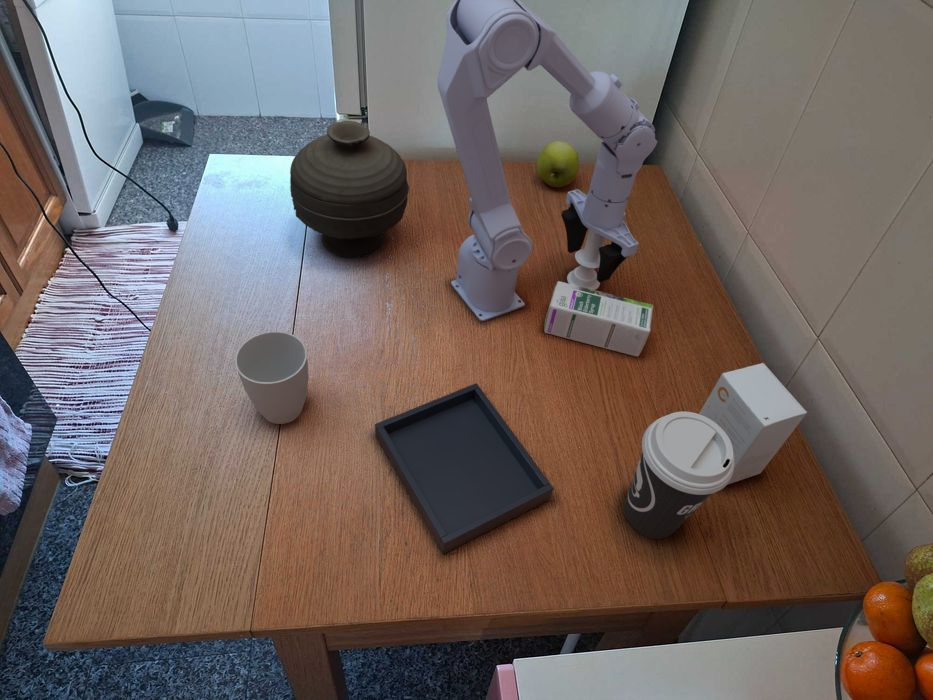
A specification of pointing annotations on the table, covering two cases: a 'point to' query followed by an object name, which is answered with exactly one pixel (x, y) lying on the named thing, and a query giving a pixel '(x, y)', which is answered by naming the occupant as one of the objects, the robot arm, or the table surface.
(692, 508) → the coffee cup
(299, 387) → the cup
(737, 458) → the small box
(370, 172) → the pot
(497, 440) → the tray
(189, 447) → the table surface
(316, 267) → the table surface
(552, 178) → the apple
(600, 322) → the syrup box
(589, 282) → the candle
